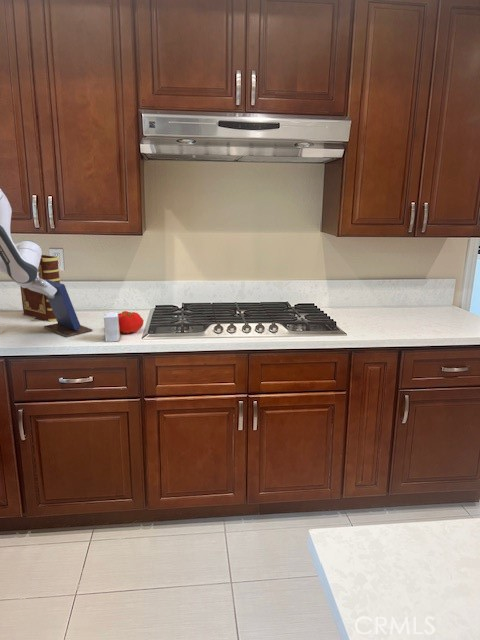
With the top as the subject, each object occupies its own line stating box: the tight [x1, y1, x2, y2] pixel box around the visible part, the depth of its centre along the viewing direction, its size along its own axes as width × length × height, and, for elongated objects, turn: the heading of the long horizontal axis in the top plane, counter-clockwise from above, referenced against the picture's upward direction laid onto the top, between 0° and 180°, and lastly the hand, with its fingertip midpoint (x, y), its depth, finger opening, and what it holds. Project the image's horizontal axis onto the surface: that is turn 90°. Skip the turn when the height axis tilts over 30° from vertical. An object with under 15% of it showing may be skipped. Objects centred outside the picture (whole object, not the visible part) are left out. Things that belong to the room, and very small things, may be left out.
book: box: [45, 280, 82, 331], centre depth 202 cm, size 3×15×21 cm, turn 49°
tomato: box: [118, 310, 144, 334], centre depth 204 cm, size 13×12×8 cm
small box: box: [103, 312, 121, 343], centre depth 193 cm, size 8×6×10 cm
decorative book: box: [19, 254, 61, 323], centre depth 223 cm, size 22×8×30 cm, turn 58°
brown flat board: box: [43, 322, 93, 338], centre depth 206 cm, size 12×20×1 cm, turn 48°
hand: (52, 297), depth 197 cm, fingers closed, pressing on book
